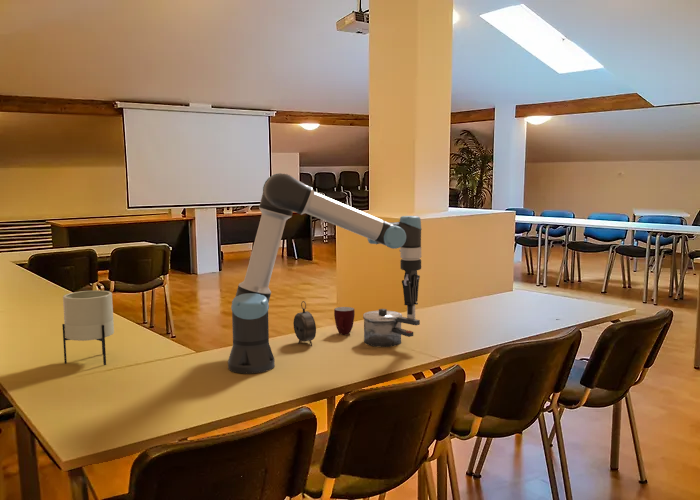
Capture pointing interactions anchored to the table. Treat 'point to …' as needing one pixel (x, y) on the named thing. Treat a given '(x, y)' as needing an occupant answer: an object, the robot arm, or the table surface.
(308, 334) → the alarm clock
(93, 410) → the table surface
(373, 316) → the lid
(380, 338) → the pot
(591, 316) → the table surface
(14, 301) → the table surface
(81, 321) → the planter
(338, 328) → the mug
